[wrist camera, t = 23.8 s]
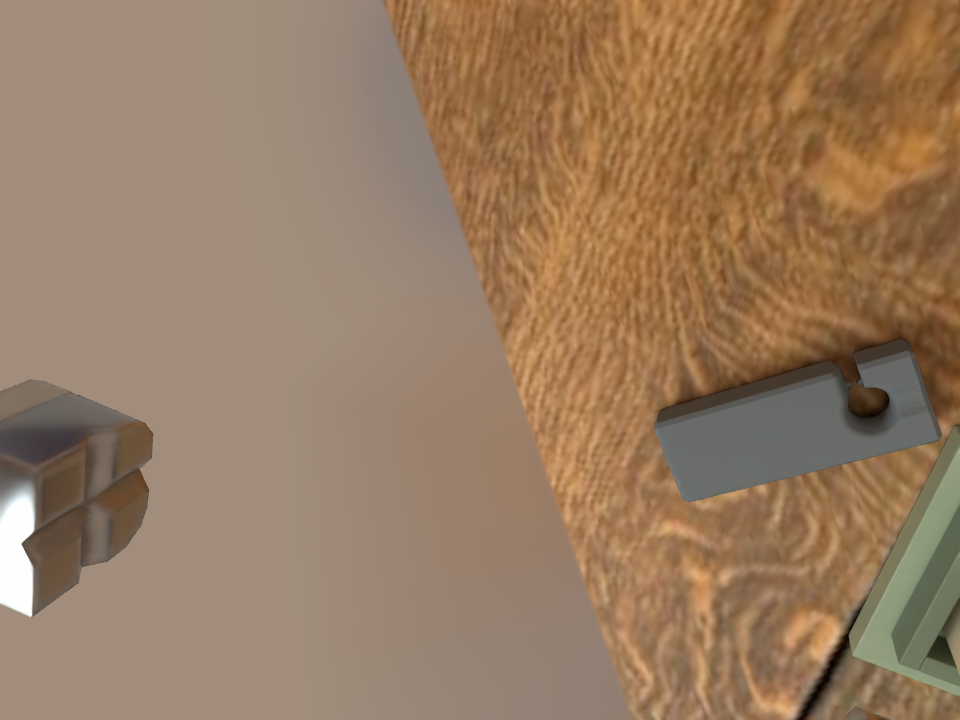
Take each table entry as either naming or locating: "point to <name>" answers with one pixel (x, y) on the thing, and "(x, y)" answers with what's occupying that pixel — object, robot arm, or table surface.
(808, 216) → the table surface
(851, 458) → the bracket
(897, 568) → the base
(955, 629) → the beige rectangular block
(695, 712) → the table surface
